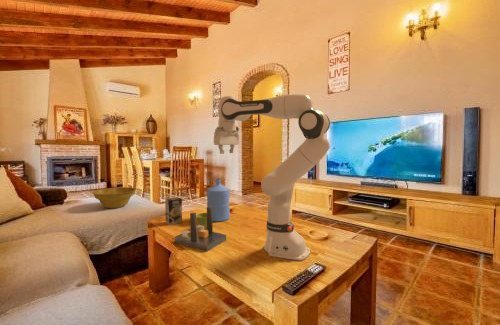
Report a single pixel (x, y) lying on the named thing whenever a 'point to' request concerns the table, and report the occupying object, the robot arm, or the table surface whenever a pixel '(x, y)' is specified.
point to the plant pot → (202, 219)
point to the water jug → (219, 201)
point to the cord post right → (209, 220)
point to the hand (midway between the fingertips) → (226, 153)
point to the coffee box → (173, 210)
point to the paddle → (203, 233)
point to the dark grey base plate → (200, 239)
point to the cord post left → (193, 226)
